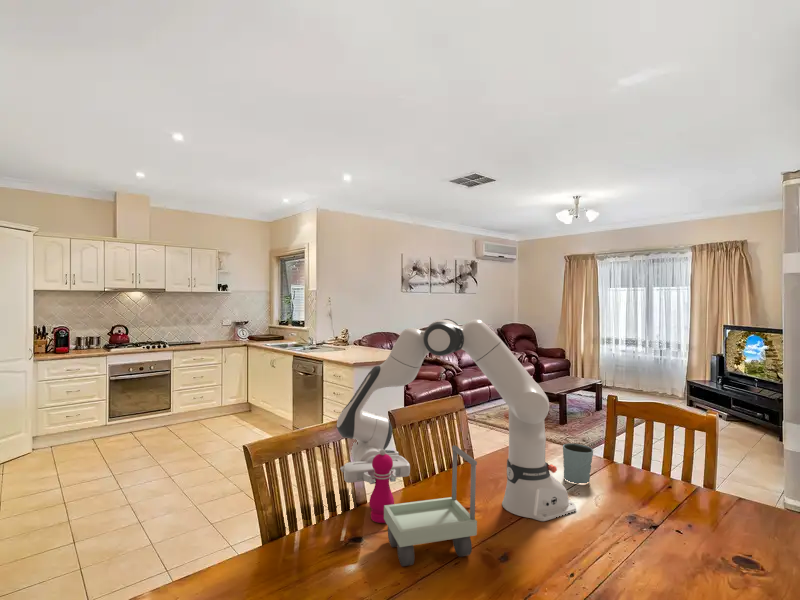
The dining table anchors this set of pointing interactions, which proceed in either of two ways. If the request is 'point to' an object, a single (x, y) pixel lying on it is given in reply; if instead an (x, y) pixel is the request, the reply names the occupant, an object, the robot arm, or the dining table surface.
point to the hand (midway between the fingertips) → (383, 480)
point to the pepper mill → (381, 486)
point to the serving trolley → (433, 519)
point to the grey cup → (577, 462)
